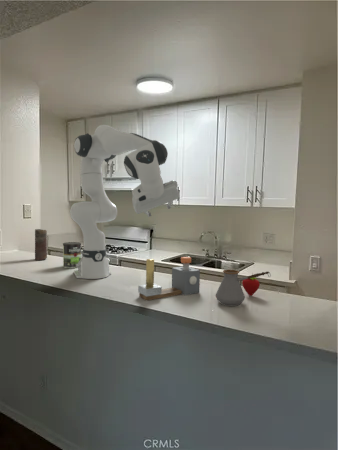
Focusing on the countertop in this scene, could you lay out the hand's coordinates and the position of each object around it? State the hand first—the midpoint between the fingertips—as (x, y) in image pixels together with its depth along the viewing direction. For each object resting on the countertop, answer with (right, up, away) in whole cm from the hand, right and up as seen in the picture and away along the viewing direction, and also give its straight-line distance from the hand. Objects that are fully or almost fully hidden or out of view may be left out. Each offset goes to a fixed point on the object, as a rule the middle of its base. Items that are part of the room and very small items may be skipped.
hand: (159, 211), depth 137 cm
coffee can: (-54, -31, +49) cm, 79 cm away
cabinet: (+12, -35, +2) cm, 37 cm away
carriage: (-4, -34, -8) cm, 35 cm away
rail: (+1, -36, -5) cm, 36 cm away
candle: (-80, -29, +68) cm, 109 cm away
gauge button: (+12, -31, +2) cm, 34 cm away
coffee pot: (+33, -37, -16) cm, 52 cm away
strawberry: (+39, -37, -3) cm, 54 cm away
